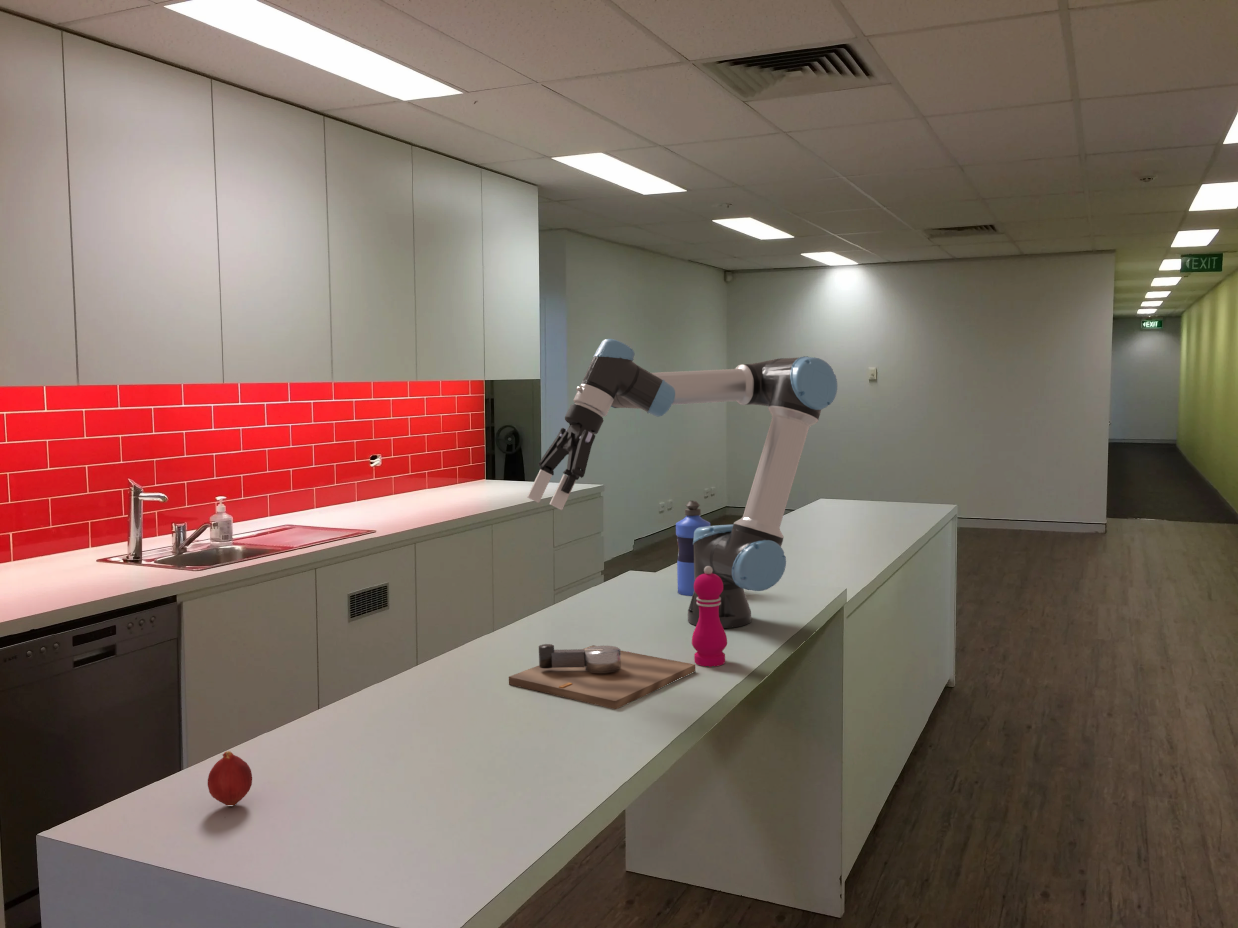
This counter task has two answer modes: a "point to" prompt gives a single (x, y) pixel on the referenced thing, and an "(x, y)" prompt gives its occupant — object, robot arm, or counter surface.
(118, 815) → the counter surface
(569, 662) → the dark grey dumbbell shape
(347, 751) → the counter surface
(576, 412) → the robot arm
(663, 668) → the wooden cutting board
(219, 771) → the onion
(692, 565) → the water bottle
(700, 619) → the pepper mill
